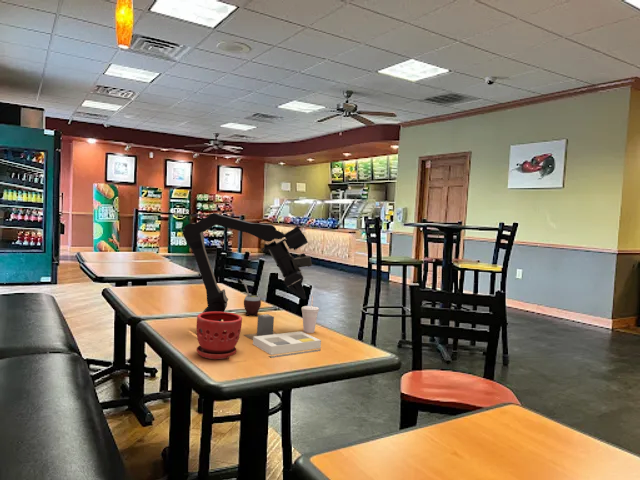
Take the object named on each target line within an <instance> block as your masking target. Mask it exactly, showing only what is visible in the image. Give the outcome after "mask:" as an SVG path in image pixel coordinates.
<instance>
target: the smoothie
mask: <svg viewBox="0 0 640 480" xmlns="http://www.w3.org/2000/svg"><path fill="white" fill-rule="evenodd" d="M313 305H314V295H311V303H310V305H304V306H302V307H301V313H302V326H303V327H302V328H303V330H302V332H304V333H306V334H313V333H315V330H316V325H317V319H318V314H319V311H320V308H319V307H318V306H313Z"/></svg>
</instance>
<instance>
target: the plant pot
mask: <svg viewBox="0 0 640 480" xmlns="http://www.w3.org/2000/svg"><path fill="white" fill-rule="evenodd" d="M220 319H222V321H218V320H220ZM213 320H215V321H213ZM242 324H243V317H242V316H241V315H239V314H236V313H232V312H227V311H224V312H204V313H202V312H201V313H199V314H198V315H197V317H196V337H197V338H196V339H197V342H198V344H199V345H198V346H197V347H196V352H197V354H198V355H200V357H203V358H206V359H210V360H223V359H229V358H230V357H232V356H234V355H235V354H236V353H237V347H236V346H237V344H238V342H239V339H240V336H241V330H242ZM201 329H202V331H203V332H202V333H201V331H200V330H201Z"/></svg>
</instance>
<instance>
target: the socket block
mask: <svg viewBox="0 0 640 480" xmlns="http://www.w3.org/2000/svg"><path fill="white" fill-rule="evenodd" d="M252 345H253V346H254V347H256V348H258V349H260V350H262V351H263V352H265V353H267V354H269V355H270V356H268V358H270V359H274V358H280V357H288V356H295V355H303V354H308V353H309V354H310V353H315V352H321V348H322V347H321V345H322V340H321V339H319V338H317V337H314V336H313V335H311V334H309V333H306V332H304V331H302V330H301V331H293V332H285V333H284V332H282V333H278V334H272V335H263V336H254V337H253V340H252Z"/></svg>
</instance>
